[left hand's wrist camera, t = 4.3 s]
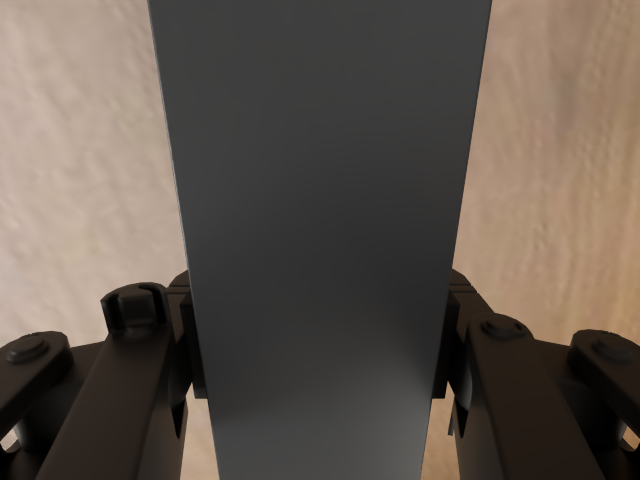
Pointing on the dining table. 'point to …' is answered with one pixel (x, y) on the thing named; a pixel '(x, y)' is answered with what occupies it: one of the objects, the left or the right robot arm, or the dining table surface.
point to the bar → (319, 218)
